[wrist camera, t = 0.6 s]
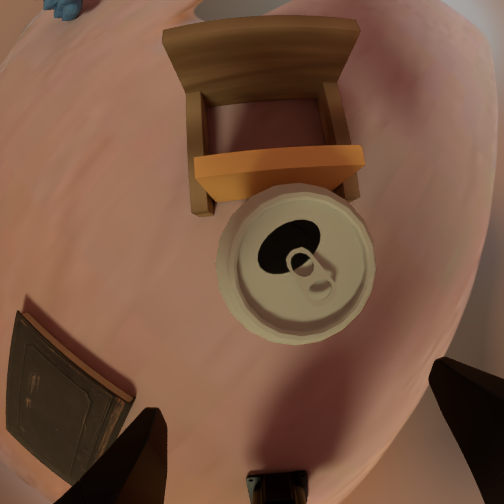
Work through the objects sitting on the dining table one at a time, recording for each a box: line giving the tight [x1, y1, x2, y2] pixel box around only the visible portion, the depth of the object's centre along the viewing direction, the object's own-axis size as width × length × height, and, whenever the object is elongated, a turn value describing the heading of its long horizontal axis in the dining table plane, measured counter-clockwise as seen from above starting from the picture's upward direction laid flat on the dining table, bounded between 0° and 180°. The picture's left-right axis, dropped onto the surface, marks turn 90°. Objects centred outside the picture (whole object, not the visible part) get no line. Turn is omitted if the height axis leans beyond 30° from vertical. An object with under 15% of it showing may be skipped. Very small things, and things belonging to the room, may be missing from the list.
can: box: [215, 183, 376, 345], centre depth 17 cm, size 8×8×12 cm
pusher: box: [194, 145, 365, 202], centre depth 19 cm, size 1×9×8 cm, turn 95°
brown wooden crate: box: [162, 15, 361, 217], centre depth 18 cm, size 11×12×10 cm
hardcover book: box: [6, 310, 136, 486], centre depth 23 cm, size 16×23×2 cm
